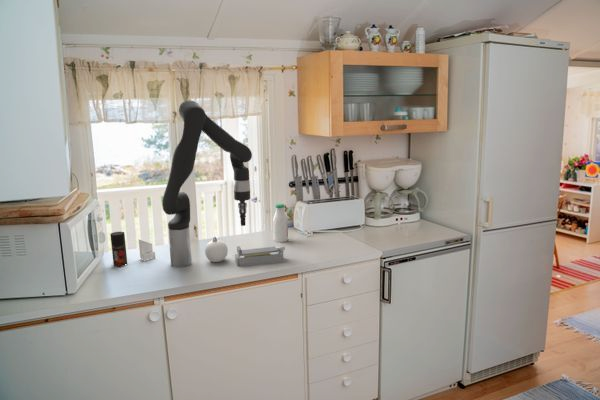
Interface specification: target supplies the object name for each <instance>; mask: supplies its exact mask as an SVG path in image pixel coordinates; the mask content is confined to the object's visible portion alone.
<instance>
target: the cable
mask: <svg viewBox="0 0 600 400" xmlns="http://www.w3.org/2000/svg"><path fill="white" fill-rule="evenodd" d="M262 255H271V254H270V253H264V254H255V255H246V256H244V257H253V256H262Z"/></svg>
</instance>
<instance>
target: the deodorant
mask: <svg viewBox="0 0 600 400" xmlns="http://www.w3.org/2000/svg"><path fill="white" fill-rule="evenodd" d="M125 235H126V234H125V231H114V232H111V233H110V242H111V244H110V245H111V252H112V261H113V262H112V264H113V267H115V266H122V265H125V264H127V265H128V256H127V246H126V245H127V244H126V236H125ZM122 267H123V266H122Z"/></svg>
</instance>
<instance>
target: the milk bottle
mask: <svg viewBox="0 0 600 400" xmlns="http://www.w3.org/2000/svg"><path fill="white" fill-rule="evenodd" d="M288 226H289V225H288V217H287V214H286V212H285V204H284V203H276V204H275V212H274V215H273V218H272V232H273V234H272V238H273V242H275V243H285V242H287V241H288V240H289V236H288V234H289V232H288V231H289V230H288V229H289V227H288Z"/></svg>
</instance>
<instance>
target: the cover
mask: <svg viewBox="0 0 600 400" xmlns="http://www.w3.org/2000/svg"><path fill="white" fill-rule="evenodd" d="M282 250H283V251H285V250H286V246H285V245H278V246H268V247H258V248H249V249H247V248H246V249H242V248H241V246H240V245H237V246H236V252H237V253H236V254H238V255H239V256H245V255H255V254H264V253H273V252H278V251H282Z"/></svg>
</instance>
